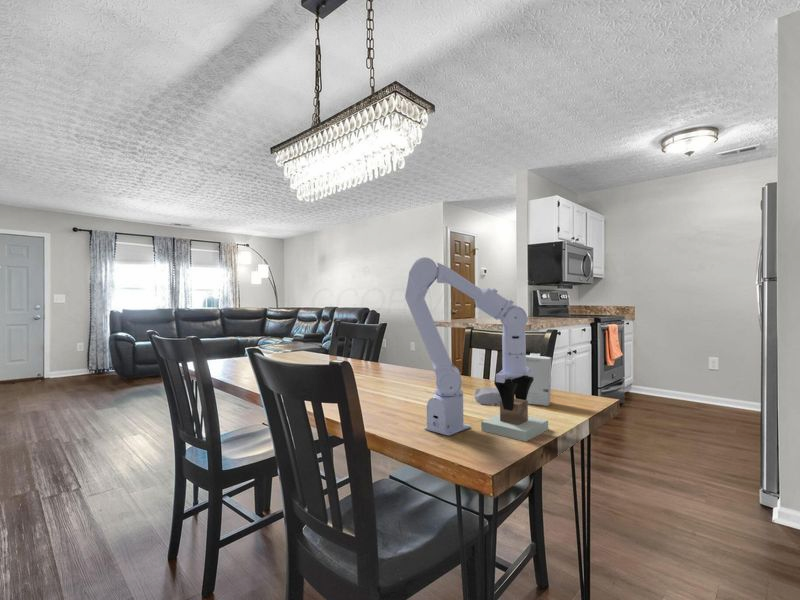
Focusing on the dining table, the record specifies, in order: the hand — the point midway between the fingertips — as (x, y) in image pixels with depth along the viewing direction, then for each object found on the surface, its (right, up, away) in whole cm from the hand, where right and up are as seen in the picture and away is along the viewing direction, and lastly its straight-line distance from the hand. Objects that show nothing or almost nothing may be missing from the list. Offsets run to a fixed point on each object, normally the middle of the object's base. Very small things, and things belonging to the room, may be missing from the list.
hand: (514, 407), depth 100 cm
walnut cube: (0, -3, 0) cm, 3 cm away
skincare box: (+15, -6, +26) cm, 31 cm away
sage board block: (0, -6, 0) cm, 6 cm away
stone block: (0, -6, +30) cm, 31 cm away
